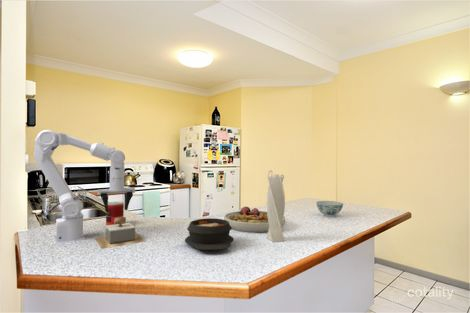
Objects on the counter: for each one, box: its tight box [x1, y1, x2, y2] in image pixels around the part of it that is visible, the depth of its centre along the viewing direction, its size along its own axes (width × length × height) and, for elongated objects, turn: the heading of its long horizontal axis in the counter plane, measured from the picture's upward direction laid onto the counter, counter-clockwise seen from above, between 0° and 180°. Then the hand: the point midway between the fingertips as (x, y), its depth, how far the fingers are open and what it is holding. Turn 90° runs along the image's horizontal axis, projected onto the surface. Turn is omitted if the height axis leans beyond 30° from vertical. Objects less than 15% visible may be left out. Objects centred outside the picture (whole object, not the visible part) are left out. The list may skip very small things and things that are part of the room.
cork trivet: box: [94, 231, 147, 250], centre depth 105 cm, size 16×16×1 cm
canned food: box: [105, 201, 125, 226], centre depth 131 cm, size 8×8×11 cm
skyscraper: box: [266, 170, 286, 243], centre depth 109 cm, size 8×8×28 cm
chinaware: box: [315, 200, 344, 218], centre depth 158 cm, size 15×15×8 cm
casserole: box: [184, 217, 234, 251], centre depth 102 cm, size 25×19×8 cm
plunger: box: [115, 216, 127, 227], centre depth 105 cm, size 7×7×8 cm
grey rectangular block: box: [104, 222, 136, 244], centre depth 106 cm, size 10×9×5 cm
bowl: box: [223, 206, 286, 233], centre depth 132 cm, size 30×30×8 cm
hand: (116, 210), depth 114 cm, fingers open, 7 cm apart
